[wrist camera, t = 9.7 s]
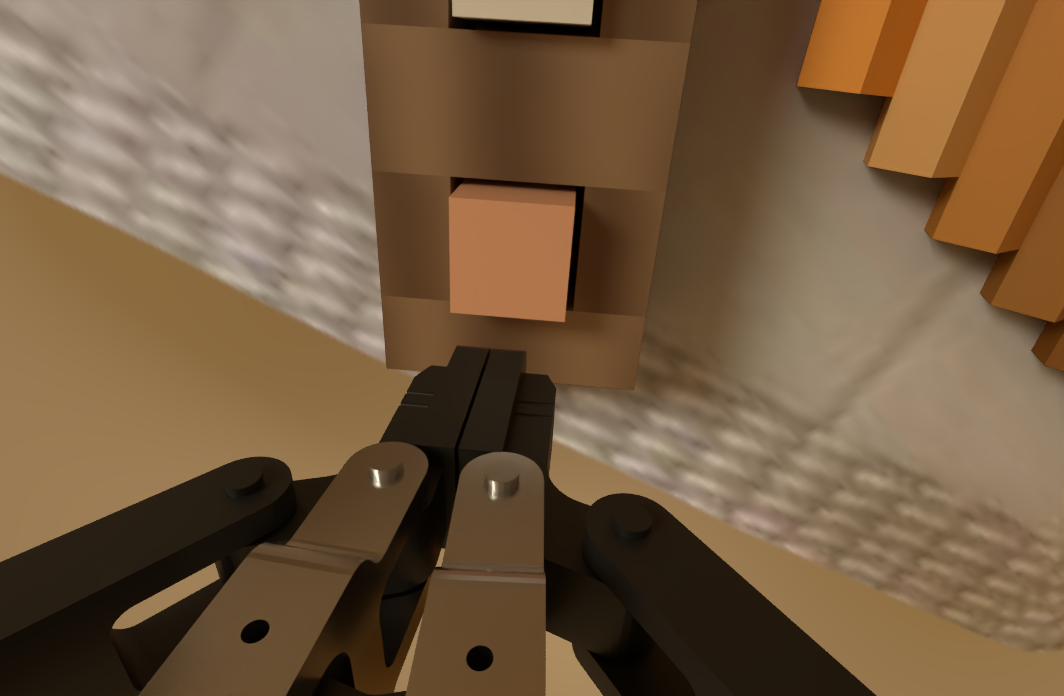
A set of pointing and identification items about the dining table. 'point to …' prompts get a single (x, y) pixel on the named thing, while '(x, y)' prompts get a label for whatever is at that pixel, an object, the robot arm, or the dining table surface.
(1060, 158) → the pan flute
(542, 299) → the orange-brown rectangular block
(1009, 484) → the dining table surface
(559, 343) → the board
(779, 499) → the dining table surface
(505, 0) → the beige rectangular block
